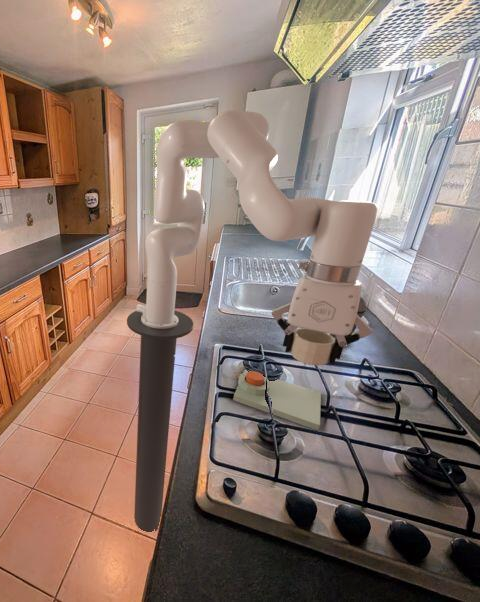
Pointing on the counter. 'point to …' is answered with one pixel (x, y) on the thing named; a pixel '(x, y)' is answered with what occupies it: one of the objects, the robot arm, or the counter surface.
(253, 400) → the scale
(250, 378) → the button
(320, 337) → the bowl
